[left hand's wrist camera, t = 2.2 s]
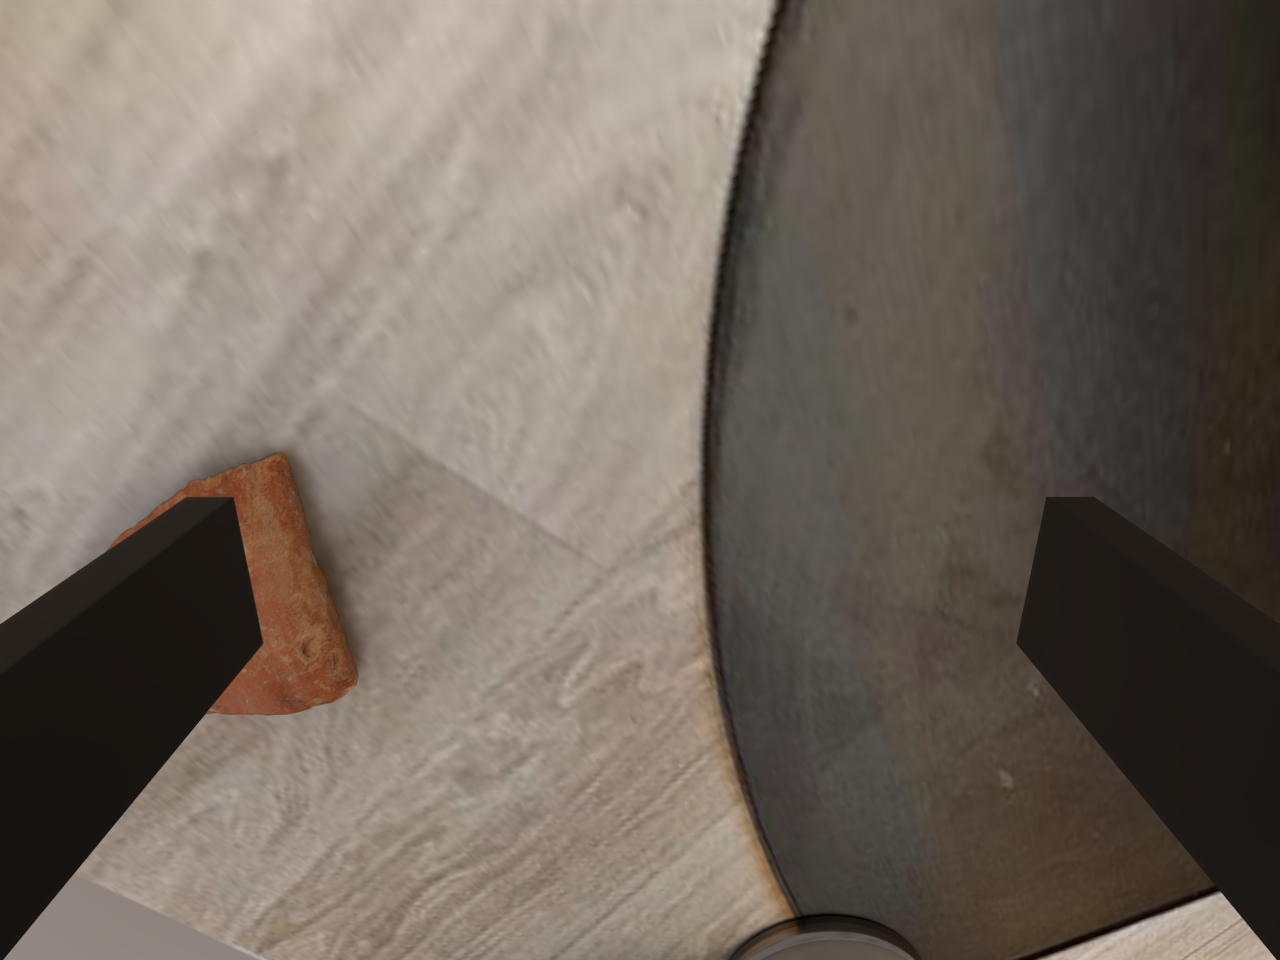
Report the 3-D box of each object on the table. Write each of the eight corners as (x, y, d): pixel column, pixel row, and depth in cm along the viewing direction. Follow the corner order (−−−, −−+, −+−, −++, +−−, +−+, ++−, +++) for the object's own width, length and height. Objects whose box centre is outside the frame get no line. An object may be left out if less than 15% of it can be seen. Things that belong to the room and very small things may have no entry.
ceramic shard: (-45, 511, 37) (276, 458, 38) (41, 483, 43) (313, 438, 44) (54, 780, 40) (346, 723, 41) (120, 717, 46) (371, 669, 48)
